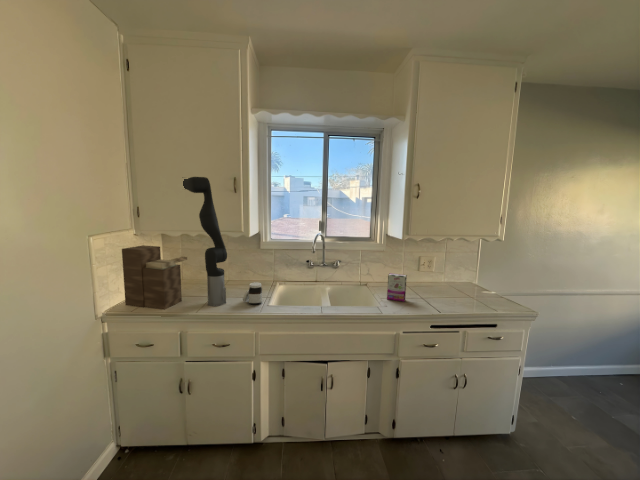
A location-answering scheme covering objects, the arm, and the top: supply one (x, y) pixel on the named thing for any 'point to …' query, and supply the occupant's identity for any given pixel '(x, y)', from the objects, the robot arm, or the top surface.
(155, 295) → the two-tone wooden block
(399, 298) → the candy bar box
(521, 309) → the top surface
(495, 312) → the top surface
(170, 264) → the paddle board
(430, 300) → the top surface
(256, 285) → the spread jar
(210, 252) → the robot arm
